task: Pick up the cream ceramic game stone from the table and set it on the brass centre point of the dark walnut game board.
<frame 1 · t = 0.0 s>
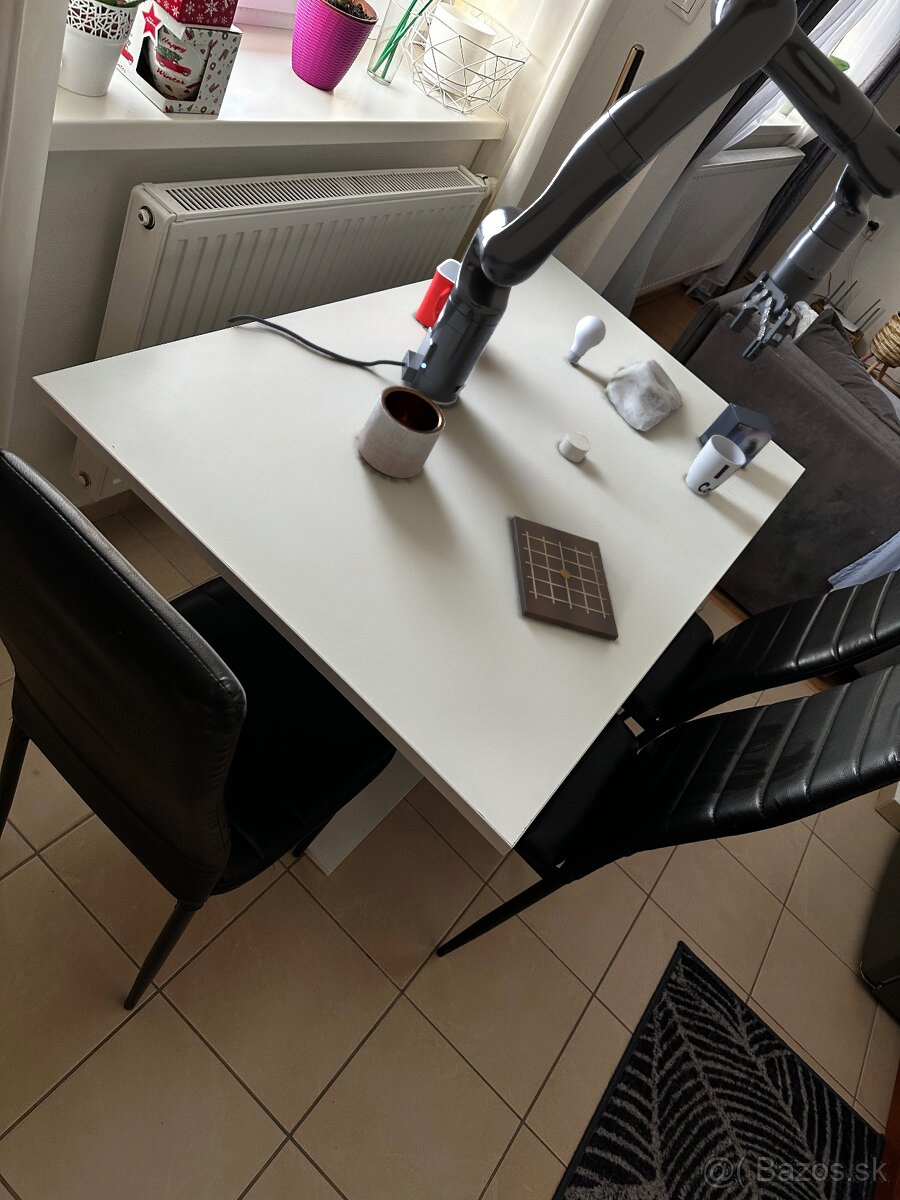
hand: (740, 344, 147), 29 cm above the table, tool pointing down, fingers open, 8 cm apart
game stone: (570, 452, 158), on the table
stone: (639, 397, 185), on the table
lightbulb: (570, 362, 181), on the table
cup: (695, 486, 171), on the table
mug: (433, 326, 165), on the table
small box: (720, 454, 185), on the table
board: (561, 579, 134), on the table
planter: (388, 456, 134), on the table
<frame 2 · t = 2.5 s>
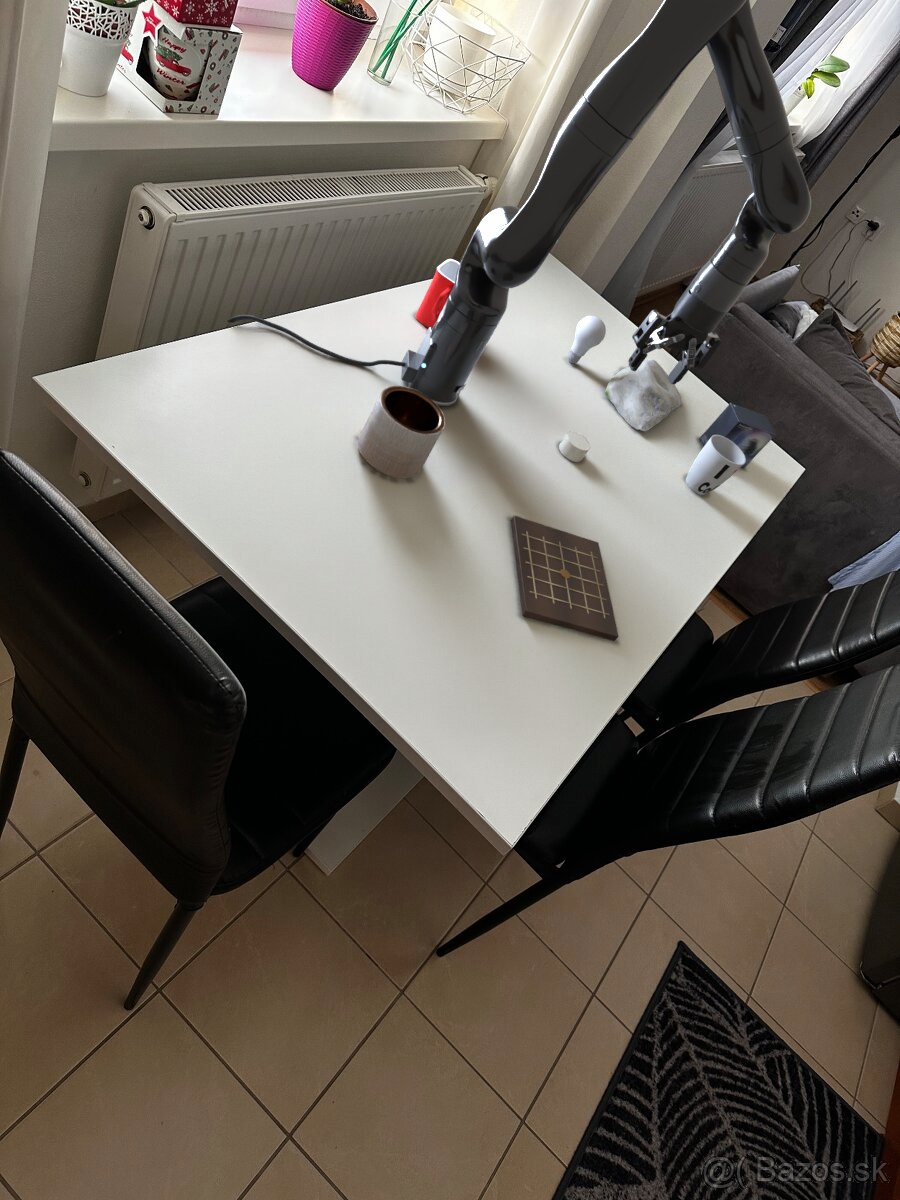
hand: (651, 374, 147), 20 cm above the table, tool pointing down, fingers open, 8 cm apart
nothing on the table moved.
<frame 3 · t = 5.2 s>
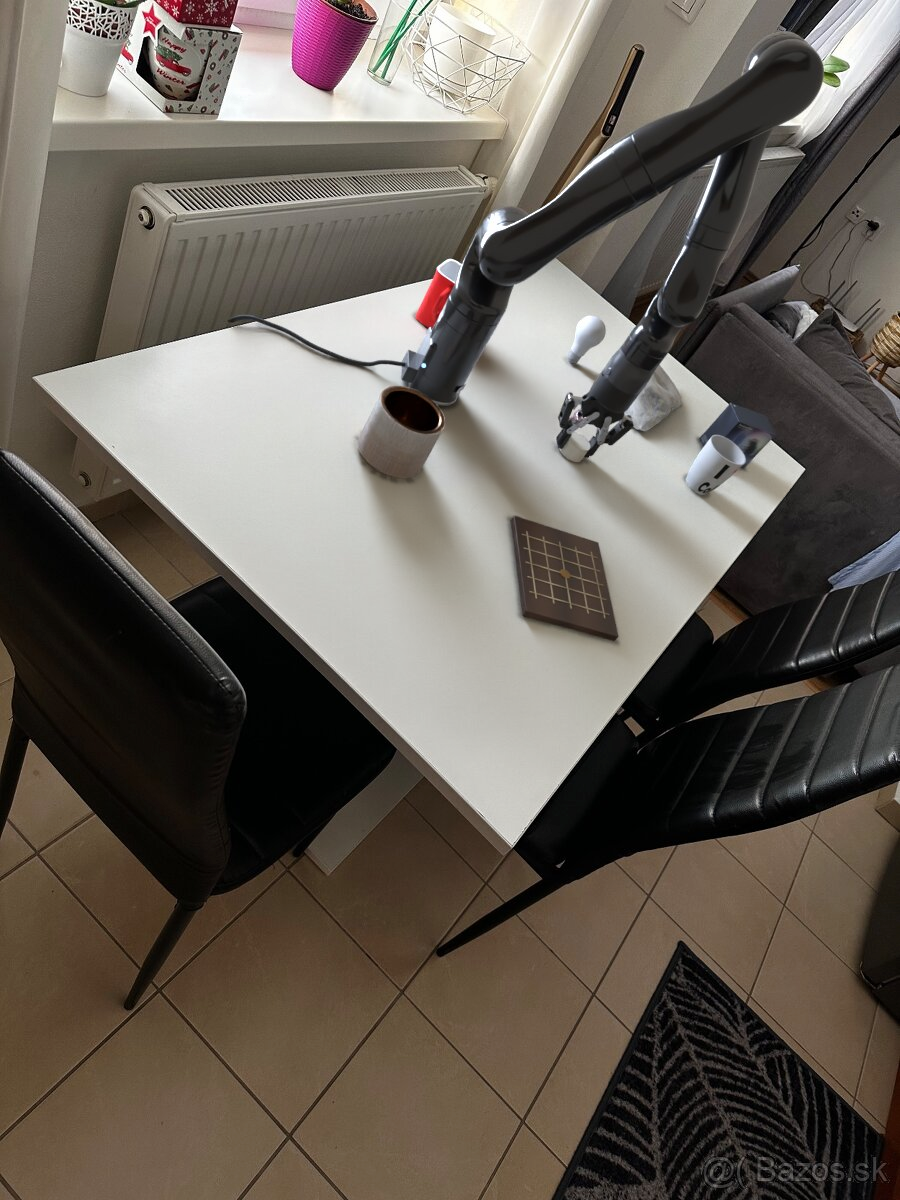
hand: (572, 449, 158), 1 cm above the table, tool pointing down, fingers closed on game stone, 5 cm apart
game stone: (570, 452, 158), on the table, touching gripper
everything else where it was.
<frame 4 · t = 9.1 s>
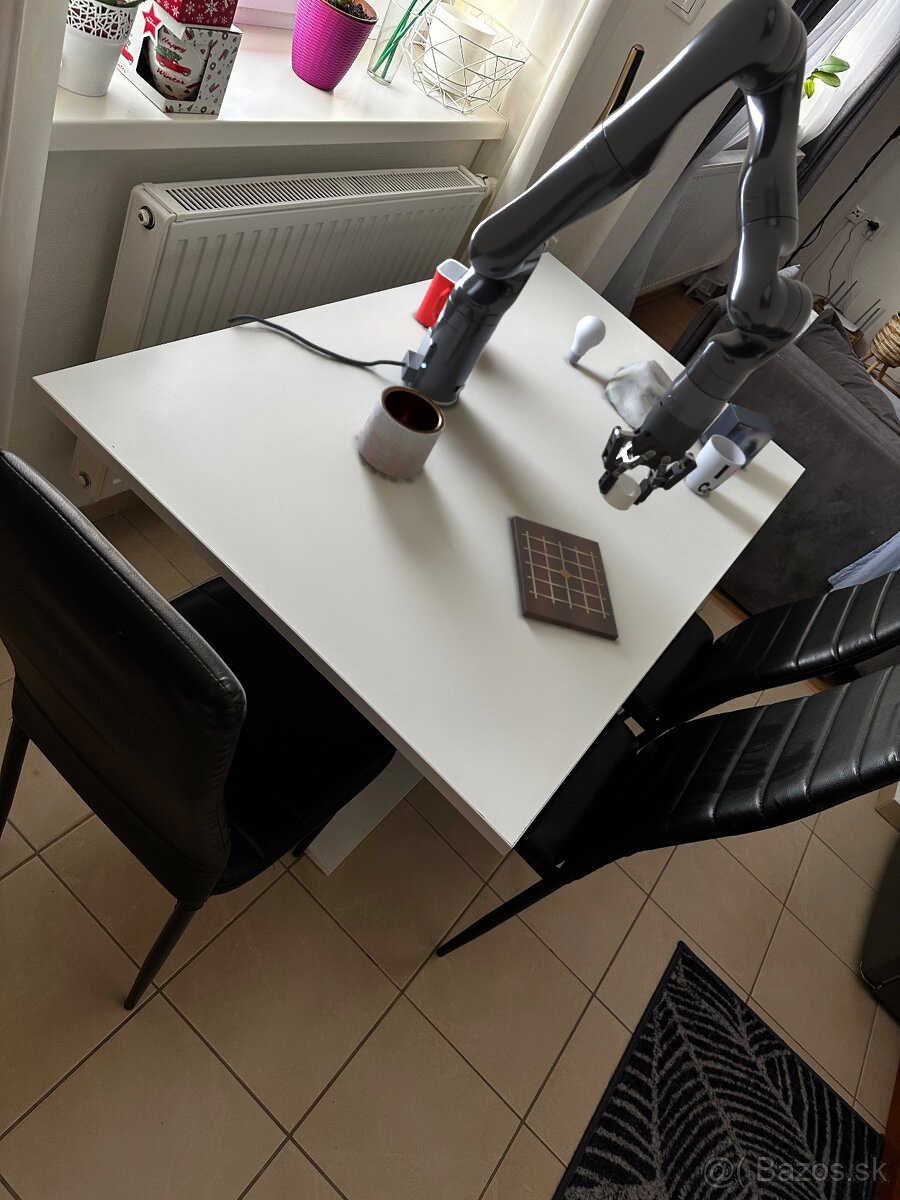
hand: (617, 495, 126), 15 cm above the table, tool pointing down, fingers closed on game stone, 5 cm apart
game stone: (615, 498, 127), point 15 cm above the table, touching gripper
everything else where it was.
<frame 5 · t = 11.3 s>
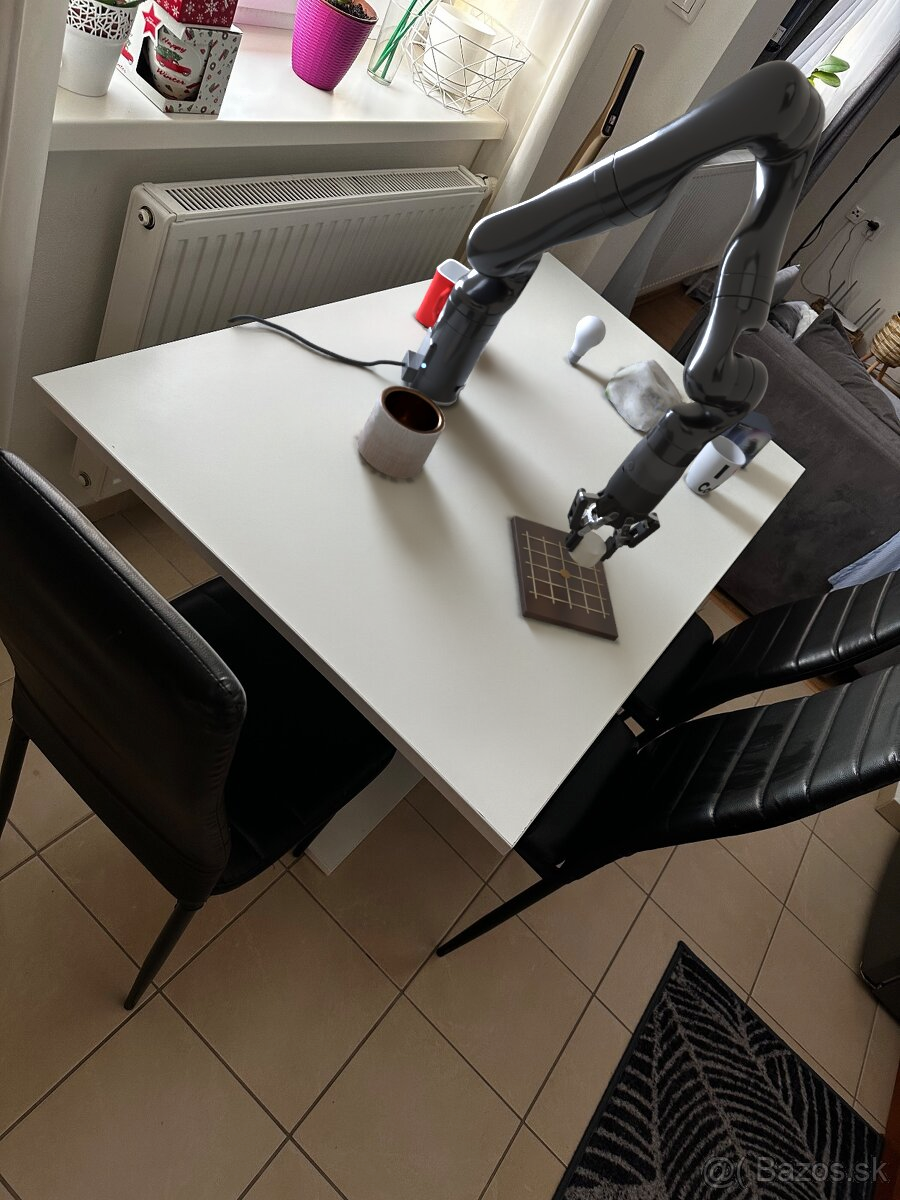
hand: (584, 552, 129), 7 cm above the table, tool pointing down, fingers closed on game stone, 5 cm apart
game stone: (582, 554, 130), point 6 cm above the table, touching gripper
everything else where it was.
when the fingers open (2 cm above the table, at t = 12.9 s): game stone stays where it is, resting on board.
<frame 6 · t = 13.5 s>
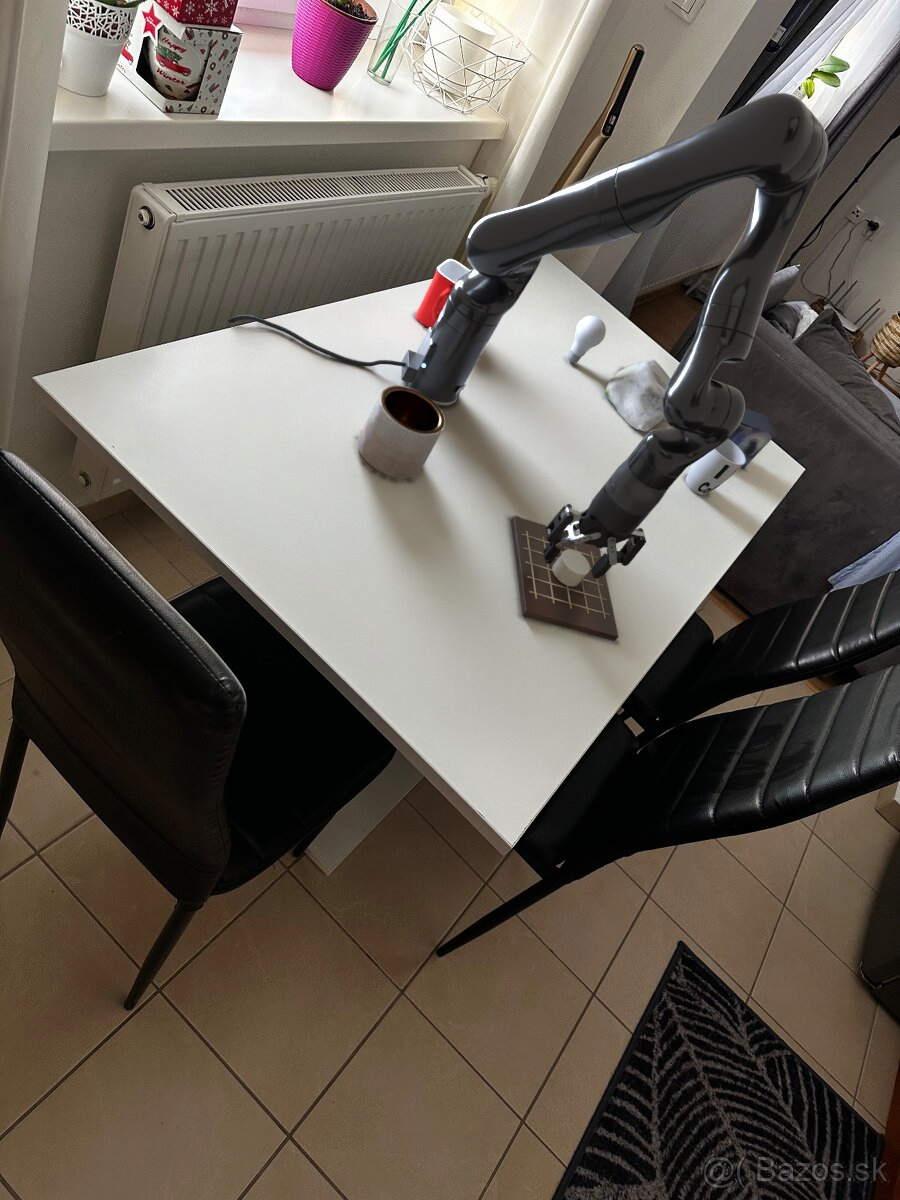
hand: (570, 567, 132), 3 cm above the table, tool pointing down, fingers open, 8 cm apart
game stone: (566, 573, 133), point 1 cm above the table, touching board
everything else where it was.
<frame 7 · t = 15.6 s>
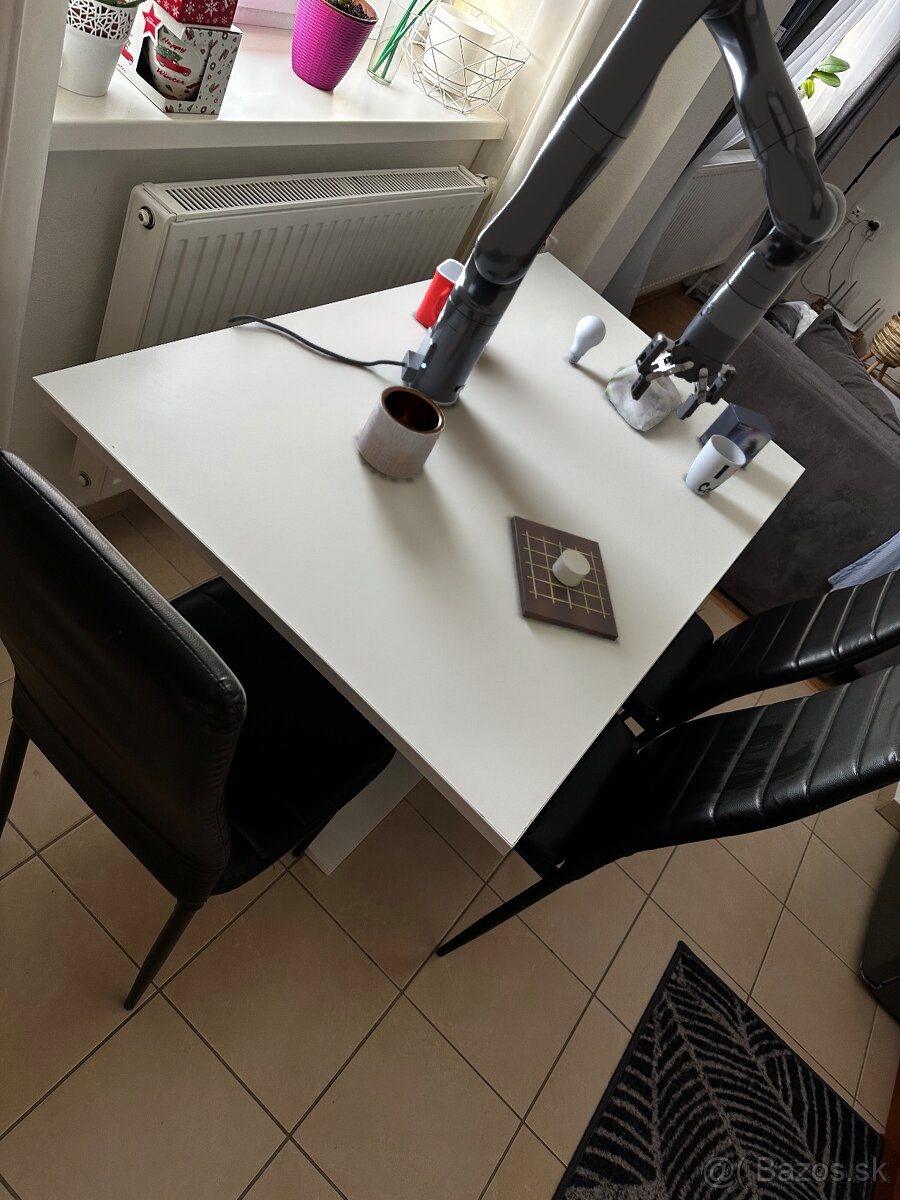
hand: (656, 406, 130), 24 cm above the table, tool pointing down, fingers open, 8 cm apart
nothing on the table moved.
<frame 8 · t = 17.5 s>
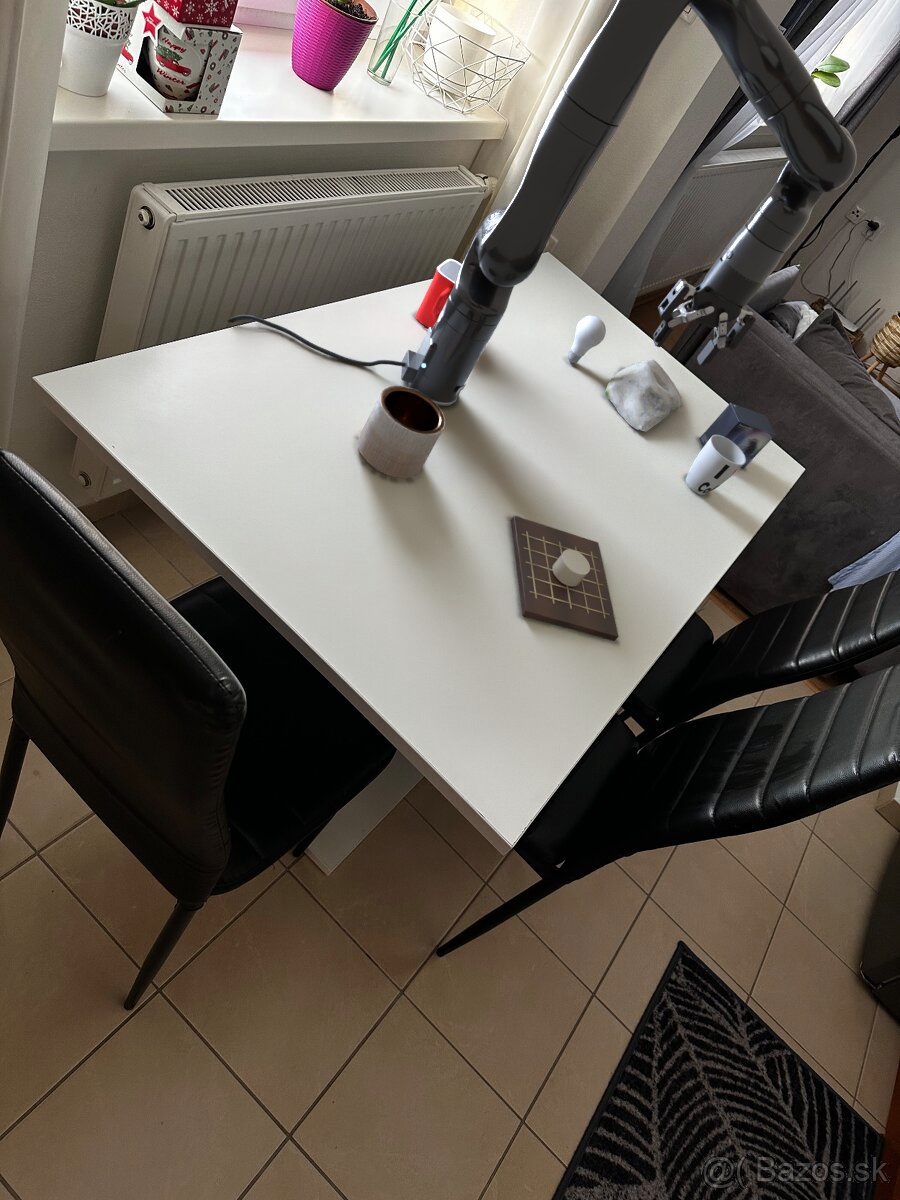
hand: (678, 353, 136), 28 cm above the table, tool pointing down, fingers open, 8 cm apart
nothing on the table moved.
at the end: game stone 0.1 cm off-centre on the board, point 1.3 cm above the board's base; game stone tilted 0°; the gripper is holding nothing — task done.
